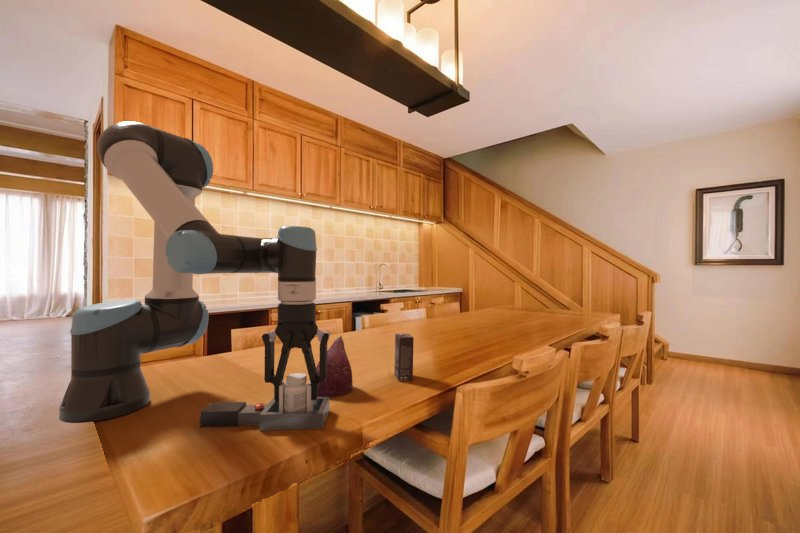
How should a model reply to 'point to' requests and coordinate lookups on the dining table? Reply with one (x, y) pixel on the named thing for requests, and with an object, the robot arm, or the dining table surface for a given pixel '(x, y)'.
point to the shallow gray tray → (264, 415)
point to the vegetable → (336, 372)
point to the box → (403, 357)
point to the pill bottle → (295, 393)
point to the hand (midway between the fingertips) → (296, 415)
